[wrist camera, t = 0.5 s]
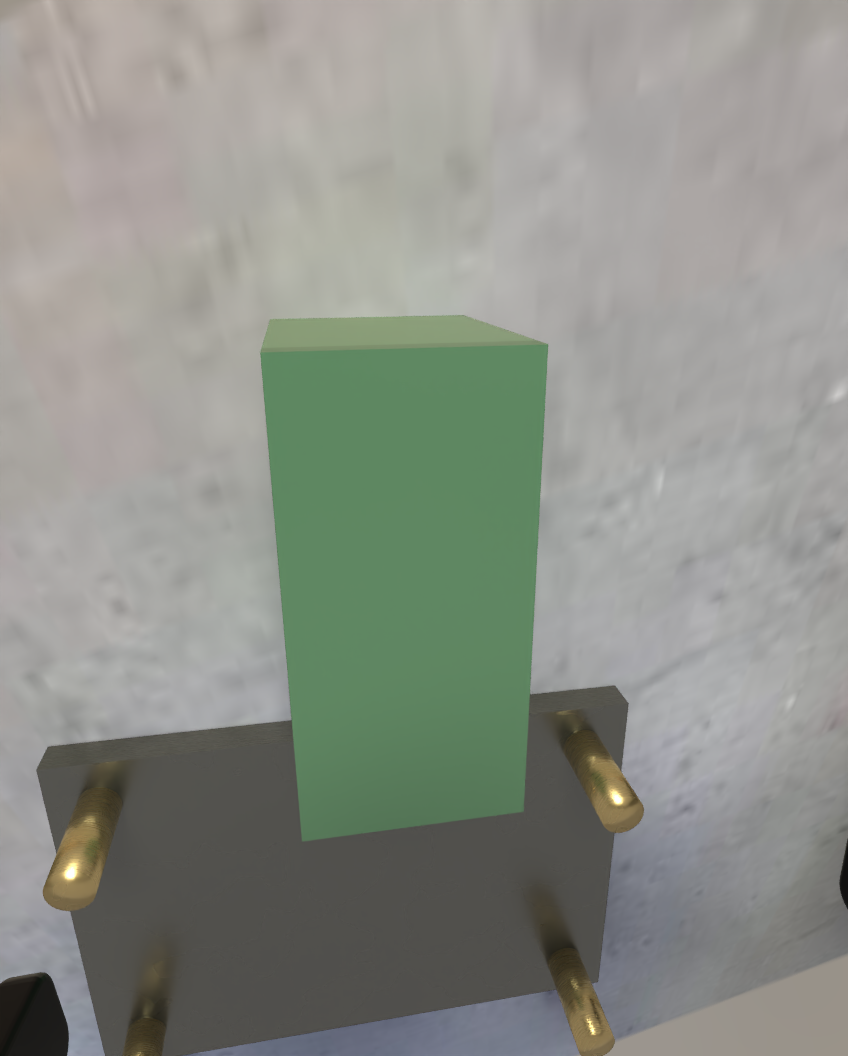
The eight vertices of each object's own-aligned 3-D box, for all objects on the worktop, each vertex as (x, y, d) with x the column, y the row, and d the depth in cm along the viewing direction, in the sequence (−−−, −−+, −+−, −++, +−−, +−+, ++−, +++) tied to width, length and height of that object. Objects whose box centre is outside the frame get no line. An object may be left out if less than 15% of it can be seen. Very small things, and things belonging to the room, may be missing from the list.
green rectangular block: (462, 314, 18) (547, 344, 12) (458, 657, 22) (523, 812, 16) (270, 319, 18) (260, 352, 12) (298, 673, 21) (302, 841, 15)
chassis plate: (615, 685, 23) (676, 767, 19) (587, 957, 27) (633, 1066, 24) (47, 746, 20) (-6, 855, 17) (115, 1037, 25) (84, 1175, 21)
